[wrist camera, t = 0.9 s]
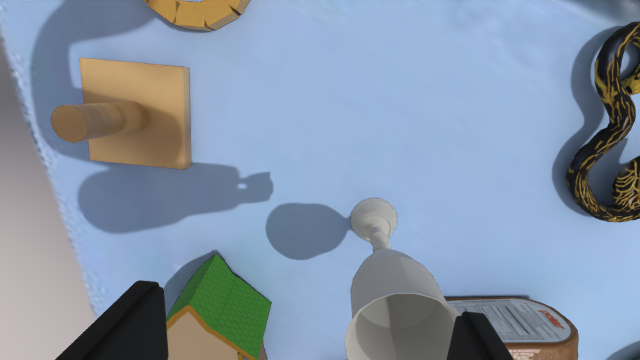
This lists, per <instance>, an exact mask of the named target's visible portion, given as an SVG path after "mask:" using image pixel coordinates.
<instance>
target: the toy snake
mask: <svg viewBox="0 0 640 360" xmlns="http://www.w3.org/2000/svg"><path fill="white" fill-rule="evenodd" d="M630 42H632V43H633V44H634V45H636V46H637V47H638V48H639V50H640V21H639V22H632V23H630V24H628V25H626V26H625V27H623V28H621V29H619V30H617V31H616V32H615V33H614V34H613V35H611V36H610V37H609V38H608V39H607V41H606V42H605V43H604V45H603V47H602V48H601V50H600V52H599V55H598V57H597V59H596V62H595V85H596V89H597V92H598V95H599V97H600V99H601V101H602V103H603V105H604V106H605V108H606V111H607V113H608V115H609V120H610V122H609V125H608V127H607V128H605V129H602V130H600V131H599V132H598V133H597V134H596V135H595V136H594V137H593V138H592V139H591V140H590V142H589V143H588V144H586V145H584V146H583V147H581V148H580V149H579V150H578V152H577V153H576V154H575V156H574V159H573V160H572V162H571V164H570V166H569V168H568V171H567V174H566V183H567V185H568V188H569V191H570V193H571V195H572V197H573V199H574V200H575V202H576V204H577V205H579V206H580V207H581V208H582V209H583V210H584V211H586V212H587V213H589V214H590V215H592V216H593V217H595V218H597V219H600V220H603V221H608V222H626V221H630V220H637V219H639V218H640V156H638V157H636V158H635V159H633V160H632V161H631V162H629V163H628V164H627V165H626V166H625V167H624V168H623V169H622V170H621V171H620V172H619V174H618V175H617V176H616V177H615V180H614V183H613V190H612V197H613V201H614V203H615V204H616V205H615V206H610V205H602V204H601V203H599V202H598V201H597V199H596V197H595V196H594V195H593V193H592V191H591V189H590V186H589V183H588V175H589V170H590V169H591V167H592V166H593V164H594V163H596V162H597V161H598V160H599V159H600V158H601V157H602V156H603V155H604V154H605V153H607V152H608V151H610V150H611V149H612V148H613V147H615V146H616V145H617V144H618V143H619V142H620V141H621V140H623V139H624V138H625V136H626V135H627V134H628V133H629V131H630V130H631V128H632V126H633V124H634V122H635V117H636V114H635V112H636V110H635V105H634V103H633V101H632V99H631V97H630V95H633V94H638V93H640V63H639V65H638V67H637V68H636V69H635V71H634V72H632V73H631V74H630V75H629V76H628V77H627V78H626V79H624V80H623V82H622V79H621V75H620V68H621V61H622V57H623V54H624V51H625V49H626V47H627V45H628V44H629V43H630Z"/></svg>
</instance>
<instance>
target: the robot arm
mask: <svg viewBox="0 0 640 360" xmlns="http://www.w3.org/2000/svg"><path fill="white" fill-rule="evenodd" d="M168 356H169V353H168V339H167V326H166V313H165V299H164V289H163V288H162V287H159V284H158V283H157V282H151V281H141V280H140V281H137V282H135V283H134V284H133V285H132V286H131V287H130V288H129V289H128V290H127V291H126V292H125V293H124V294H123V295H122V296H121V297H120V298H119V299H118V300H117V301H116V302H115V303H113V304H112V305H111V306H110V307H109V308H108V309H107V310H106V311H105V312H104V313H103V314H102V315H101V316H100V317H99V318H98V319H97V320H96V321H95V322H94V323H93V324H92V325H91V326H90V327H89V328H88V329H86V331H84V332H83V333H82V334H81V335H80V336H79V337H78V338H77V339H76V340H75V341H74V342H73V343H72V344H71V345H70V346H69V347H68V348H67V349H66V350H65V351H64V352H63V353H62V354H61V355H60V356H58V357H57V358H56V359H55V360H168ZM446 360H514V358H513V357H512V355H511V354H510V352H509V351H508V349H507V348H506V346H505V345H504V343H503V341H502V340H501V338H500V337H499V335H498V334H497V332H496V331H495V329H494V328H493V326H492V324H491V323H490V321H489V320H488V318H487V317H486V315H485V314H483V313H478V312H467V311H464V312H463V313H462V315H461V316H457V317H456V319H455V323H454V328H453V332H452V337H451V341H450V346H449V350H448V355H447V359H446Z"/></svg>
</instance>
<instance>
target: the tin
mask: <svg viewBox="0 0 640 360" xmlns="http://www.w3.org/2000/svg"><path fill="white" fill-rule="evenodd" d="M445 300H446V302H447V304H448V305H449V306H451V307H453V308H454V309H456V310H457V311H458V313H459V314H460V315H462V313H463V312H464V311H467V312H478V313H483V314H485V315H486V317H487V318H488V320H489V321H490V323H491V324H492V326H493V328H494V329H495V331H496V332H497V334H498V335H499V337H500V338H501V340H502V341H503V343H504V345H505V346H506V348H507V349H508V351H509V352H510V354H511V355H512V357H513V358H514V360H578V340H579V337H578V330H577V329H576V327H575V326H574V325H573V324H572V323H571V321H569V320H568V319H567V318H566V317H565V316H563V315H562V314H561V313H559V312H558V311H557V310H555V309H554V308H552V307H550V306H548V305H545V304H543V303H540V302H537V301H533V300H529V299H525V298H518V297H481V298H445Z"/></svg>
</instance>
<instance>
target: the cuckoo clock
mask: <svg viewBox="0 0 640 360" xmlns="http://www.w3.org/2000/svg"><path fill="white" fill-rule="evenodd" d="M270 307H271V302H270V301H269V300H267V299H266V298H265V297H263V296H262V295H261V294H260V293H258V292H257V291H256V290H254V289H253V288H252V287H250V286H249V285H248V284H246V283H245V282H244V281H243V280H241V279H240V278H239V277H237V276H235V275H234V274H233V273H232V272H231V270H230V269H229V268H228V266H227V265H226V263H225V262H224V261H223V260H222V259H221V258H220V256H219V255H218V254H216V255H214V256H213V257H211V258H210V259H209V260H207V261H206V262H205V263H204V264H203V265H202V266H201V267H200V268H199V269H198V270H197V271H196V272H195V273H194V274H193V276H192V277H191V279H190V281H189V282H188V284H187V286H186V287H185V289H184V290H183V292H182V294H181V295H180V296H179V298H178V299H177V301H176V302H175V304H174V305H173V307H172V309H171V310H170V312H169V314H168V315H167V317H166V326H167V339H168V353H169V356H168V360H267V356H266V353H265V349H264V346H263V336H264V332H265V328H266V324H267V319H268V315H269V311H270Z"/></svg>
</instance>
